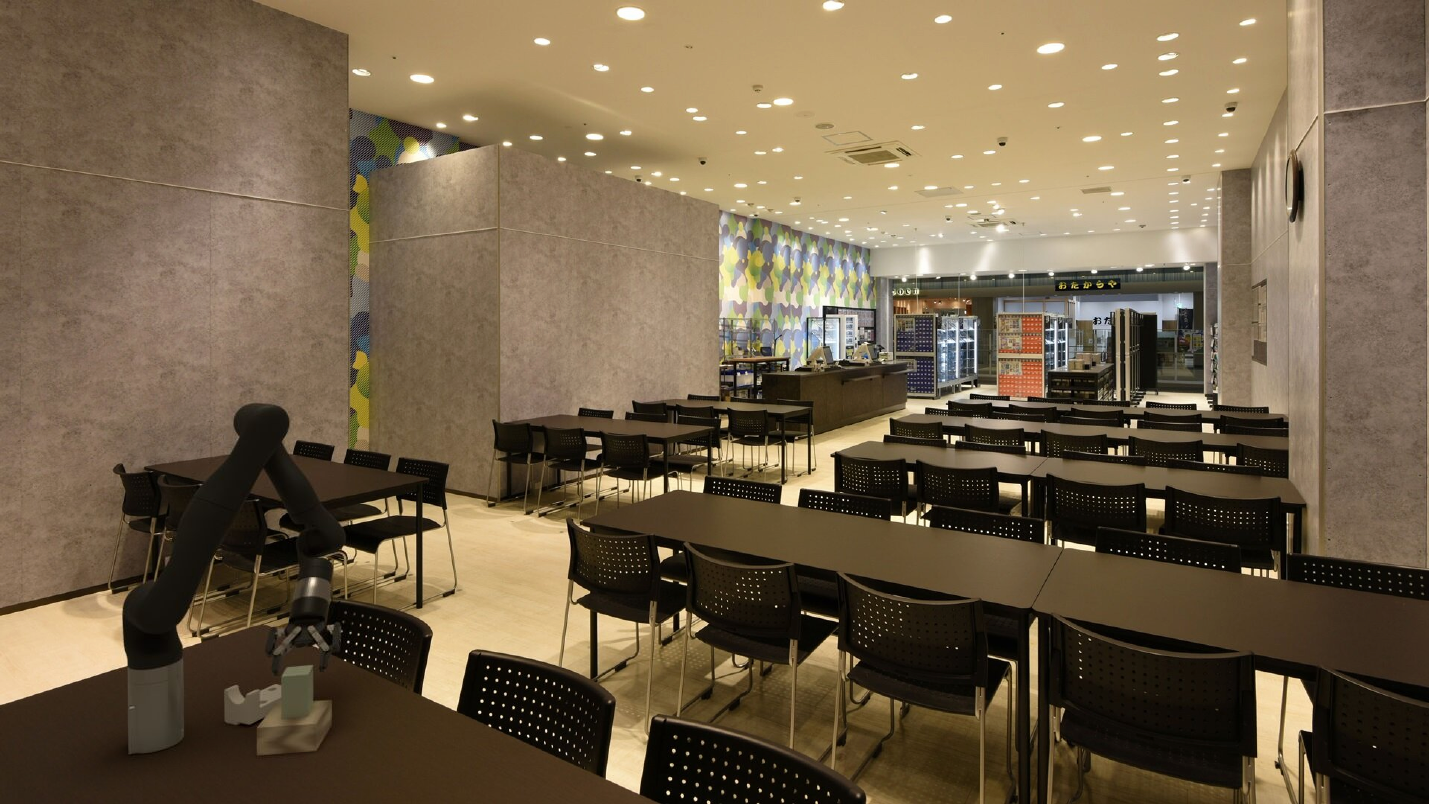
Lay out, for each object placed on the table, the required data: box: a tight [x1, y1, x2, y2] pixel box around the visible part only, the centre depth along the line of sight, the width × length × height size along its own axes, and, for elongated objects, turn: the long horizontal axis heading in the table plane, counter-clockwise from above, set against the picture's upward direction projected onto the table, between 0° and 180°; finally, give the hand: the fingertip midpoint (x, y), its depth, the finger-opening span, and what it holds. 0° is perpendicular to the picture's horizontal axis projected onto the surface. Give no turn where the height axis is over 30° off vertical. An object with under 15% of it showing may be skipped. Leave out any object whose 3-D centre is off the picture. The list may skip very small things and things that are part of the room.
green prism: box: [280, 664, 314, 719], centre depth 158 cm, size 5×5×9 cm
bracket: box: [223, 683, 281, 726], centre depth 170 cm, size 13×7×8 cm, turn 163°
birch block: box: [256, 699, 333, 756], centre depth 158 cm, size 11×11×6 cm
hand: (299, 672), depth 159 cm, fingers open, 8 cm apart
